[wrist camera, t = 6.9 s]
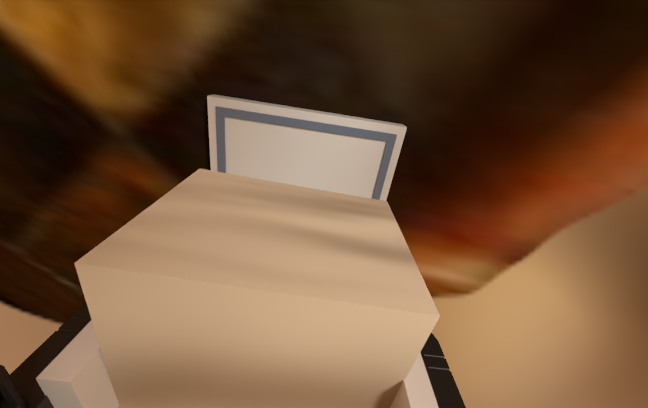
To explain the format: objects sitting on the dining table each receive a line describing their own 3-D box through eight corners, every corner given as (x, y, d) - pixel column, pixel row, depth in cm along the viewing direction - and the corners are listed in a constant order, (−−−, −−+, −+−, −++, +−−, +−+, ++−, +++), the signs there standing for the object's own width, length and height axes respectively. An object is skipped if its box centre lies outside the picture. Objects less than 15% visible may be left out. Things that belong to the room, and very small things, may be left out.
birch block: (199, 168, 11) (74, 263, 5) (387, 201, 11) (440, 315, 6) (203, 305, 14) (129, 444, 9) (346, 325, 15) (357, 467, 10)
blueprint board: (213, 94, 16) (206, 95, 15) (402, 124, 17) (407, 127, 16) (219, 250, 22) (214, 258, 21) (362, 268, 22) (364, 277, 21)
